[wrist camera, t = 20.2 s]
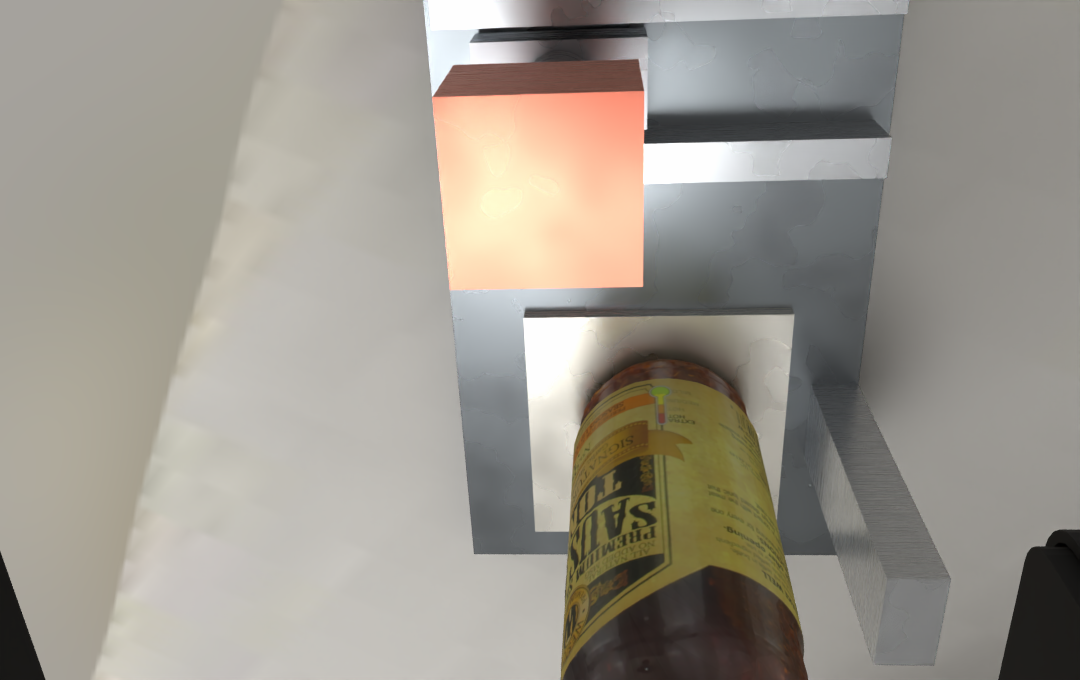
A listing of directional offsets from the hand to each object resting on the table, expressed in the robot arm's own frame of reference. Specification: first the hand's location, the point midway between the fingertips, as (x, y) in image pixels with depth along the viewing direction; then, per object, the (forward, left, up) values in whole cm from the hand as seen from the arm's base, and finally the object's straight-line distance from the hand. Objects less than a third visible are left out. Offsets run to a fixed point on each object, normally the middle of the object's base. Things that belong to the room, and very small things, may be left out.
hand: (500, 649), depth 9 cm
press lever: (0, 0, -23) cm, 23 cm away
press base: (-7, -3, -25) cm, 26 cm away
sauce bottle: (-12, -3, -23) cm, 26 cm away
